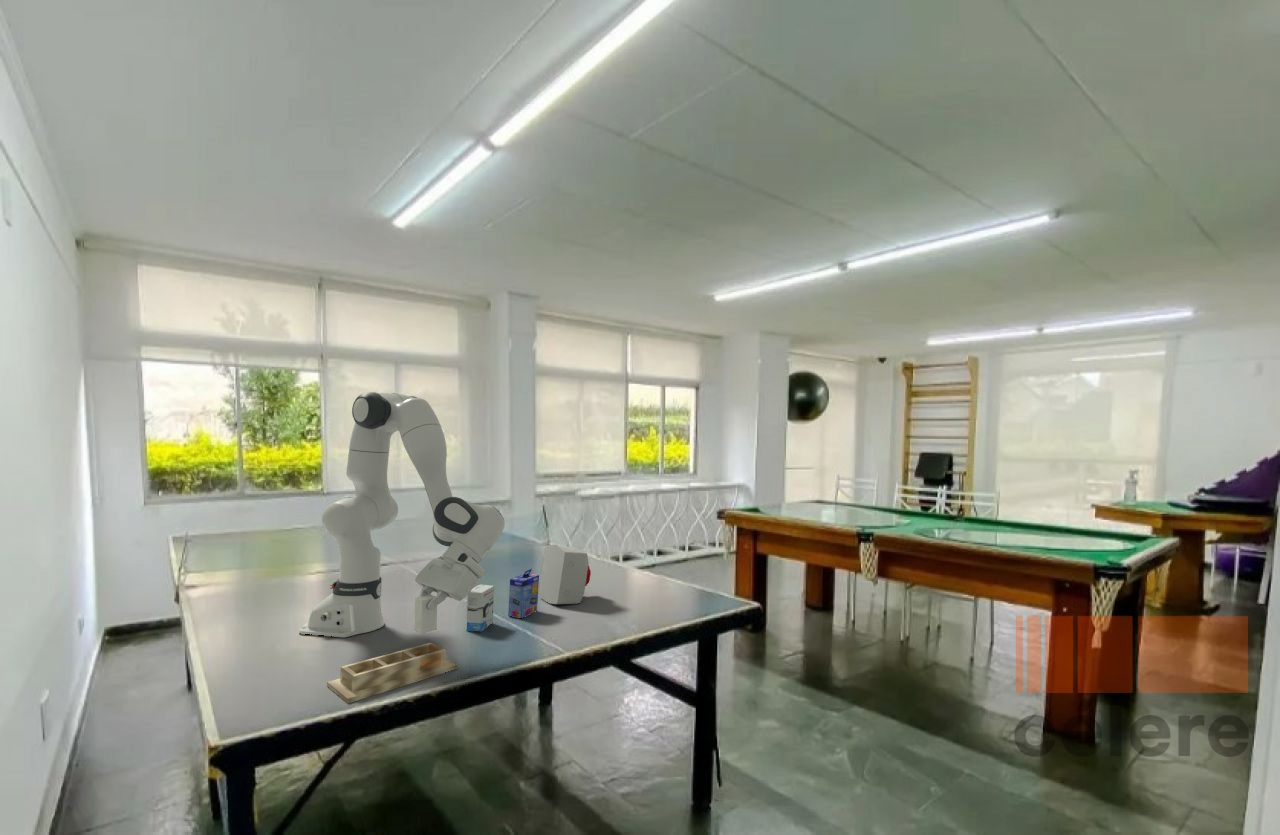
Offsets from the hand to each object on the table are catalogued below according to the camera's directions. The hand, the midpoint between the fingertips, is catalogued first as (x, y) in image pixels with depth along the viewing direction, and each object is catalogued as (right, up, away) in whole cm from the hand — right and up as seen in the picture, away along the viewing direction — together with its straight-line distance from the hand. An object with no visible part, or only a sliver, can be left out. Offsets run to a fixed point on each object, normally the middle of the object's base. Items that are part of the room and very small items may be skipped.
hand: (423, 606), depth 143 cm
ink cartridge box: (+16, -17, +45) cm, 50 cm away
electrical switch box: (+28, -18, +62) cm, 71 cm away
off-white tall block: (0, -6, 0) cm, 6 cm away
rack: (-5, -15, -5) cm, 17 cm away
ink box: (+5, -17, +31) cm, 36 cm away
